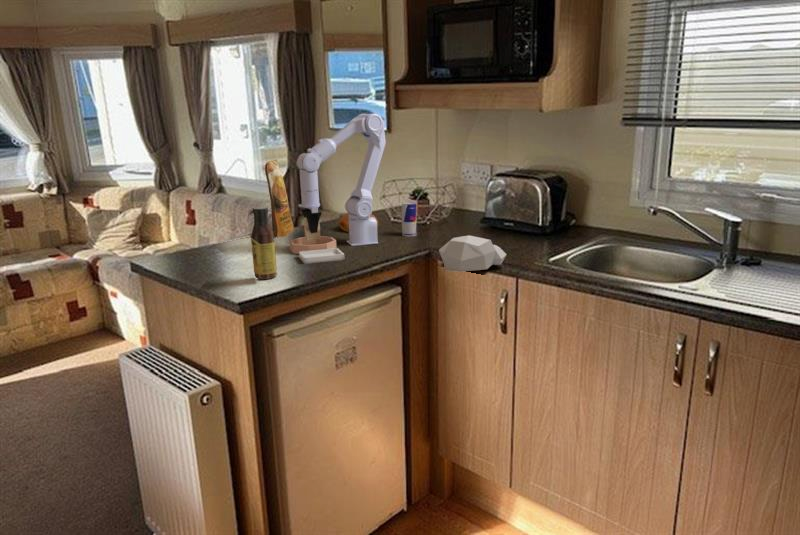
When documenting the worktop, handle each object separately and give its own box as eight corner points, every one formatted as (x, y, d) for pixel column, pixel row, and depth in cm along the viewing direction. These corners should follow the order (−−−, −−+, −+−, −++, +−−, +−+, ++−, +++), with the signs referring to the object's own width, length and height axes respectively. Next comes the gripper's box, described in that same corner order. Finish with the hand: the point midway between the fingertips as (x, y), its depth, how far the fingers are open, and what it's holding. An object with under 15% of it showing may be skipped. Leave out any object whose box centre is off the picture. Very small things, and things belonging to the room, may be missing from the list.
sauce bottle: (256, 275, 171) (250, 205, 166) (278, 274, 172) (273, 204, 167) (252, 281, 165) (246, 209, 160) (275, 280, 165) (270, 208, 160)
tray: (337, 253, 195) (337, 248, 195) (344, 259, 186) (344, 254, 186) (299, 257, 191) (298, 251, 191) (304, 263, 182) (303, 258, 182)
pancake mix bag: (264, 240, 218) (257, 162, 211) (281, 230, 236) (276, 158, 229) (282, 240, 217) (276, 162, 210) (298, 230, 235) (293, 157, 228)
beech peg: (318, 236, 203) (316, 216, 202) (320, 239, 199) (319, 218, 198) (305, 237, 202) (303, 217, 200) (307, 240, 198) (306, 219, 196)
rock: (437, 259, 184) (437, 228, 182) (503, 258, 184) (503, 227, 181) (440, 275, 167) (440, 241, 164) (512, 274, 166) (513, 240, 164)
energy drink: (415, 237, 217) (414, 204, 214) (400, 237, 218) (400, 204, 215) (418, 234, 222) (417, 202, 219) (403, 234, 223) (403, 201, 220)
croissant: (365, 226, 241) (365, 206, 239) (384, 232, 228) (383, 211, 226) (332, 230, 234) (331, 209, 232) (350, 236, 221) (349, 215, 219)
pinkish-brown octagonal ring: (330, 243, 211) (329, 234, 210) (339, 251, 197) (339, 242, 196) (288, 247, 206) (287, 238, 205) (295, 256, 193) (294, 247, 192)
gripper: (294, 188, 202) (296, 228, 206) (301, 193, 189) (304, 236, 192) (314, 187, 204) (317, 226, 208) (323, 192, 191) (325, 234, 194)
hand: (312, 231), depth 200 cm, fingers closed on beech peg, 4 cm apart
